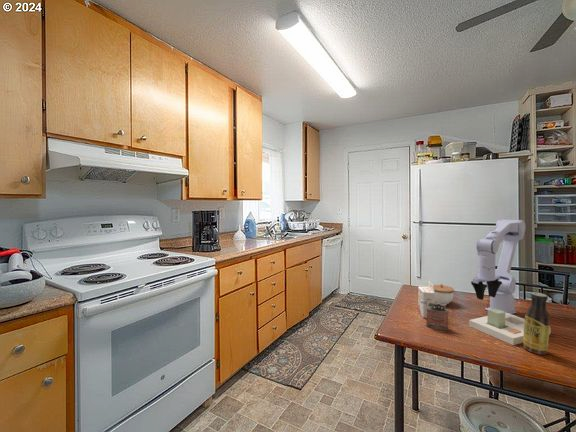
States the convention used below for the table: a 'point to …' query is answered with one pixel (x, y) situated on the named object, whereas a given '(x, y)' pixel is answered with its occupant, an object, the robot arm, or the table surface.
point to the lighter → (437, 316)
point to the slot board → (508, 334)
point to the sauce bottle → (537, 325)
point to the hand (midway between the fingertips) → (486, 297)
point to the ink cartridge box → (425, 298)
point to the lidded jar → (443, 294)
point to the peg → (496, 318)
